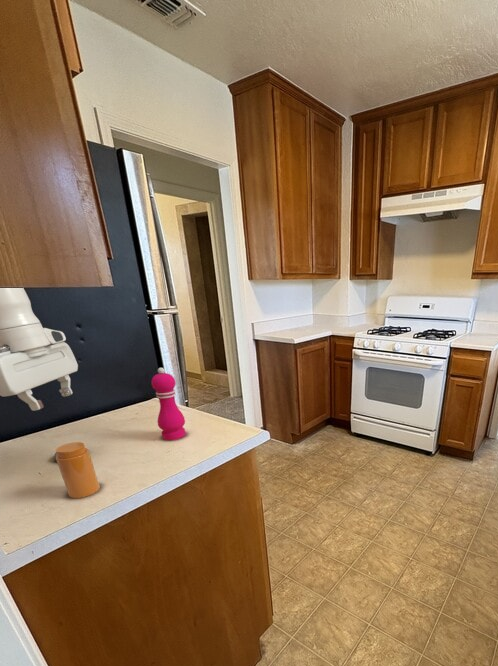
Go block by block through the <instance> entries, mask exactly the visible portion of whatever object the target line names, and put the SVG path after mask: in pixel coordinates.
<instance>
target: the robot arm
mask: <svg viewBox="0 0 498 666" xmlns="http://www.w3.org/2000/svg"><path fill="white" fill-rule="evenodd" d="M66 340H67V338H66V335H65V333H64V332H63V331H61V330H55V329H51V328H47V327H43V324H42V323H41V321H40V320H39V318H38V317H37V316H36V315H35V312H34V311H33V309H32V303H31V300H30V298H29V296H28V294H27V291H26V290H25V289H24V287H23V288H0V396H1V397H5V398H6V397H10V396H11V397H12V396H15V395H17V397H18V399H20V400H21V401H23V402H25V403H26V404H28V407H29V408H30V410H31V411H32V412H34V411H40V410H41V409H44V407H45V406H44V403H43V402H42V400H41V399H38V400H37V399H36V398H35V397H34V396H33V391H32V389H34V388H37V387H39V386H43V385H44V384H47V383H50V382H52V381H55V380H57V382H60V389H58V392H59V393H60V394H61V396H62V397H63V398H64V397H65V398H66V397H69V396H71V395H73V390H72V388H71V377H70V375H71V374H73V373H76V372H78V370H79V364H78V362H77V359H76V357H75V355H74V353H73V350H72V349H71V347H70V345H69V344H68V343H67V342H66Z"/></svg>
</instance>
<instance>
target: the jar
mask: <svg viewBox="0 0 498 666" xmlns="http://www.w3.org/2000/svg"><path fill="white" fill-rule="evenodd" d="M55 453H56V454H57V455H56V458H55V461H56V460H57V461H56V463H57V467H58V468H59V472H60V474H61V477H62V479H63V483H64V486H65V488H66V491H67V494H68V496H69V498H71V499H72V498H73V499H83V498H86V497H89V496H91V495H94V494H95V493H97V492H98V491H99V490H100V483H99V480H98V477H97V473H96V471H95V470H96V469H95V467H94V463H93V461H92V457H91V453H90V451H89V449H88V448H87V447H86V445H85V443H84V442H81V441H79V442H78V441H77V442H70V443H69V442H68V443H65V444H63V445H62V444H61V445H60V446H58V447H57V448H56V449H55Z"/></svg>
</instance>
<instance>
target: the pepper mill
mask: <svg viewBox="0 0 498 666" xmlns="http://www.w3.org/2000/svg"><path fill="white" fill-rule="evenodd" d="M176 384H177V383H176V379H175V377H174V376H173V375H172V374H170V373H168V372H166V370H165V368H164V367H159V368H158V369H157V374H154V376H153V377H152V379H151V387H152V389H154V390H155V397H156V398H157V399H158V402H159V413H158V416H157V426H158V428H159V429H161V437H162V439H163V440H165V441H176V440H180V439H182V438H184V437H185V436H186V428H185V427H184V426H185V424H186V419H185V416H184V414H183V413H182V411H181V410H180V409H179V407H178V406H177V402H176V397H175V396H177V395H176V394H177V393H176V390H175V387H176Z"/></svg>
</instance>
